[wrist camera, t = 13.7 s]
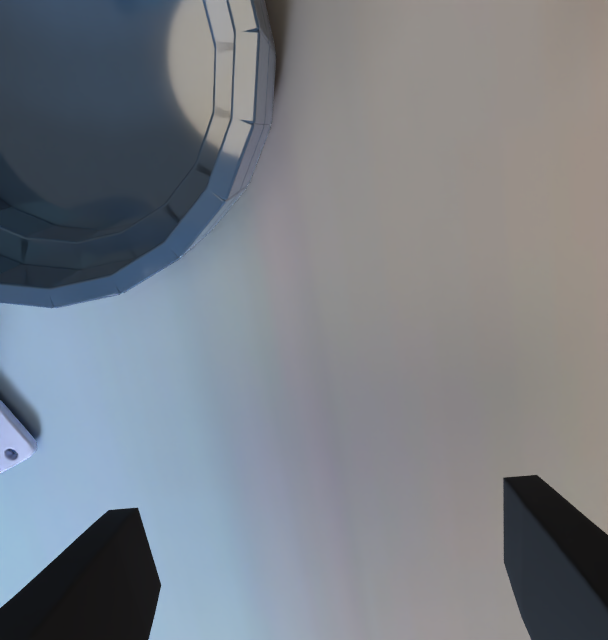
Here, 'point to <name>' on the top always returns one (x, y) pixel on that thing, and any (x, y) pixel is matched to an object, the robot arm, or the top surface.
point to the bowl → (123, 136)
